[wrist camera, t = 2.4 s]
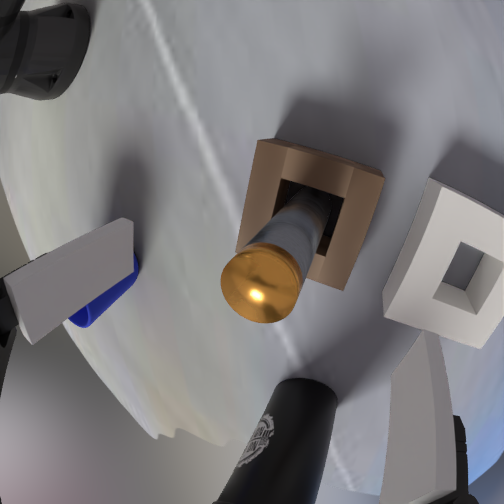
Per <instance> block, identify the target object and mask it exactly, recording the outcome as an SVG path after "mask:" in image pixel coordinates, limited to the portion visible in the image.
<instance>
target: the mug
mask: <svg viewBox="0 0 504 504" xmlns="http://www.w3.org/2000/svg"><path fill="white" fill-rule="evenodd" d="M133 262H134V272H133V273H131V274H130V275H128V276H127V277H125V278H124V279H122V280H121V281H119V282H118V283H117V284H115V285H114V286H112V287H111V288H109V289H108V290H107V291H105V292H104V293H102V294H101V295H99V296H98V297H97V298H95V299H94V300H92V301H91V302H90V303H88V304H87V305H85V306H84V307H83V308H81V309H80V310H78V311H77V312H76V313H74V314H73V315H72V316H70V317H69V318H68V319H69V320H70V321H71V322H72V323H74V324H75V325H77V326H79V327H82V328H87V327H89V326H90V325H91V324H92V323H93V322H94V321H95V320H96V319H97V318H98V317H99V316H100V315H101V314H102V313H103V312H104V311H105V310H106V309H107V308H109V307H110V306H111V305H112V304H113V303H114V302H115V301H116V300H117V299H118V298H119V297H120V296H121V295H122V294H123V293H124V292H125V291H127V290H128V289H129V288H130V287H131V286H132V285H133V284H134V282H135V281H136V279H137V276H138V270H139V267H138V262H137V258H136V256H135V254H134V252H133Z"/></svg>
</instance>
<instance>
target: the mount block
mask: <svg viewBox="0 0 504 504" xmlns="http://www.w3.org/2000/svg"><path fill="white" fill-rule="evenodd" d="M291 181H293V182H297V183H300V184H303V185H306V186H310V187H313V188H316V189H319V190H322V191H325V192H328V193H331V194H334V195H337V196H340V197H343V198H344V199H343V202H342V206H341V209H340V212H339V215H338V218H337V221H336V224H335V227H334V230H333V233H332V236H331V238H330V237H328V236H325V235H322V237H321V240H320V242H319V245H318V248H317V250H316V253H315V256H314V258H313V261H312V263H311V266H310V269H309V271H308V274H307V276H306V278H308V279H311V280H314V281H317V282H319V283H322V284H325V285H328V286H331V287H333V288H336V289H339V290H342V291H343V290H344V288H345V285H346V283H347V281H348V278H349V276H350V274H351V271H352V269H353V266H354V264H355V262H356V259H357V257H358V254H359V252H360V249H361V246H362V244H363V241H364V239H365V236H366V233H367V231H368V228H369V225H370V222H371V220H372V217H373V214H374V211H375V208H376V205H377V202H378V199H379V196H380V193H381V190H382V187H383V184H384V181H385V177H384V176H383V174H382V172H381V171H380V170H377V169H374V168H372V167H369V166H366V165H363V164H360V163H357V162H354V161H351V160H348V159H345V158H342V157H339V156H336V155H332V154H329V153H326V152H323V151H319V150H316V149H312V148H309V147H305V146H302V145H298V144H294V143H290V142H287V141H283V140H279V139H275V138H272V139H262V140H258V141H257V146H256V150H255V155H254V160H253V165H252V170H251V175H250V180H249V185H248V190H247V195H246V200H245V205H244V210H243V215H242V220H241V225H240V230H239V236H238V241H237V246H236V251H235V252H236V253H238V252H239V251H240V250H241V249H242V248H243V247H244V246H245V245H246V244H247V243H248V242H249V241H250V240H251V239H252V238H253V237H254V236H255V235H256V234H257V233H258V232H259V231H260V230H261V229H262V228H263V227H264V226H265V225H266V224H267V223H268V222H269V221H270V220H271V219H272V218H273V217H274V216H275V215H276V214H277V213H278V212H279V211H280V210H281V209H282V208H283V207H284V206H285V202H286V198H287V194H288V190H289V186H290V182H291Z"/></svg>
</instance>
